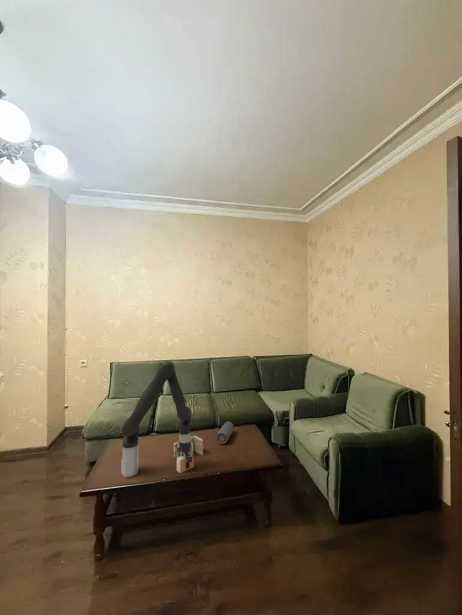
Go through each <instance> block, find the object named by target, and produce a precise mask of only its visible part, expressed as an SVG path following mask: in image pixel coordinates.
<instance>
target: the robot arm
mask: <svg viewBox="0 0 462 615" xmlns="http://www.w3.org/2000/svg"><path fill="white" fill-rule="evenodd" d="M175 368H176V367H175V364H174V363H173V361H171V360H165V361H163V362H162V363H161V364H160V365H159V367H158V370H157V371H156V374H155V376H154V378H153V379H152V381H151V382H150V383H149V384H148V385H147V387H146V388H145V390H144V391H143V392H142V394H141V395H140V398H139V399H138V401H137V403H136V405H135V407H134V410H133V412H132V413H131V415H130V416H129V417H128V418H126V420H125V421H124V422H123V424H122V428H121V433H122V435H123V438H122V458H121V459H120V461H121V466H120V468H121V469H120V473H121V475H122V476H123V477H124V478H125V479H126V478H130V477H133V476H135V475H137V474H138V473H139V438H140V433H139V432H140V424H141V423H142V422H143V420H144V417H145V416H146V415H147V414H148V412H149V411H150V409H151V408H152V407H153V405H155V402H156V401H157V399H158V397H159V395H160V393H161V391H162V389H163V386H164V385H165V383H166V382H167V383H168V386H169V390H170V395H171V397H172V400H173V403H174V404H175V405H174V406H175V409H176V414H177V417H178V419H179V420H180V423H179V429H178V430H179V431H178V432H179V435H178V442H179V447H178V455H179V457H180V456H182V455H183V456H184V458H185V459H186V469H188V468H189V467H190V462H192V457H193V455H194V452H193V453H190V450H189V449H190V447H191V437H192V434H191V419H192V411H191V409H190V408H191V407H188V406H187V405H186V403H187V402H186V398H185V396H184V392H183V390H182V388H181V385H180V382H179V380H178V376H177V374H176V372H177V371H176V369H175ZM180 453H181V454H180ZM187 456H188V457H187ZM187 459H188V461H187Z"/></svg>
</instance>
